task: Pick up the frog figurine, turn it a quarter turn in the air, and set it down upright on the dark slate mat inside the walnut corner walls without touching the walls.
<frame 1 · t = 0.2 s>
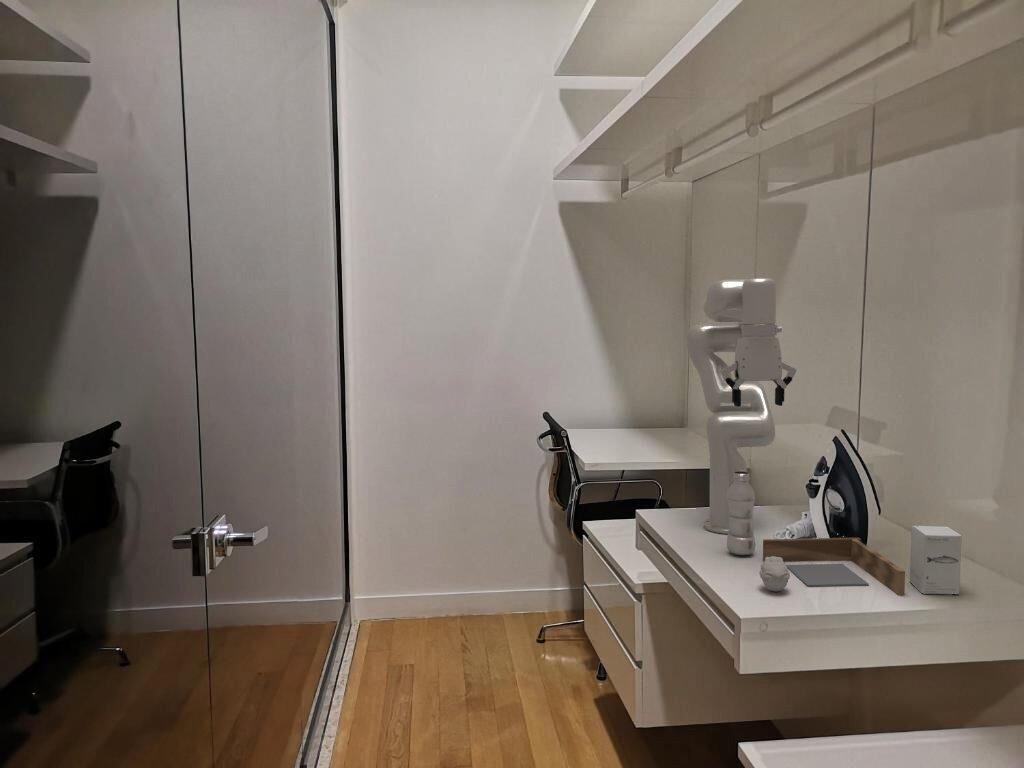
hand: (758, 405, 180), 36 cm above the table, tool pointing down, fingers open, 9 cm apart
slate mat: (825, 575, 170), on the table
supplement box: (933, 589, 161), on the table
corner walls: (825, 575, 170), on the table
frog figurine: (774, 591, 162), on the table
plastic bottle: (740, 554, 186), on the table
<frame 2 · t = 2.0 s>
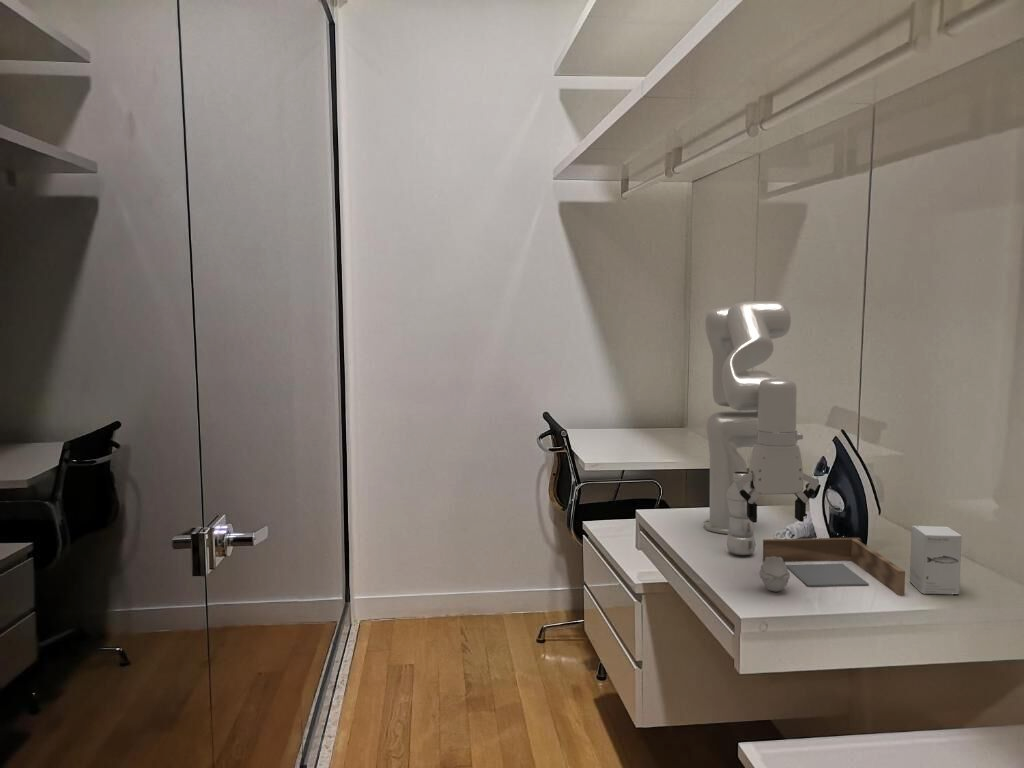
hand: (776, 520, 161), 15 cm above the table, tool pointing down, fingers open, 9 cm apart
nothing on the table moved.
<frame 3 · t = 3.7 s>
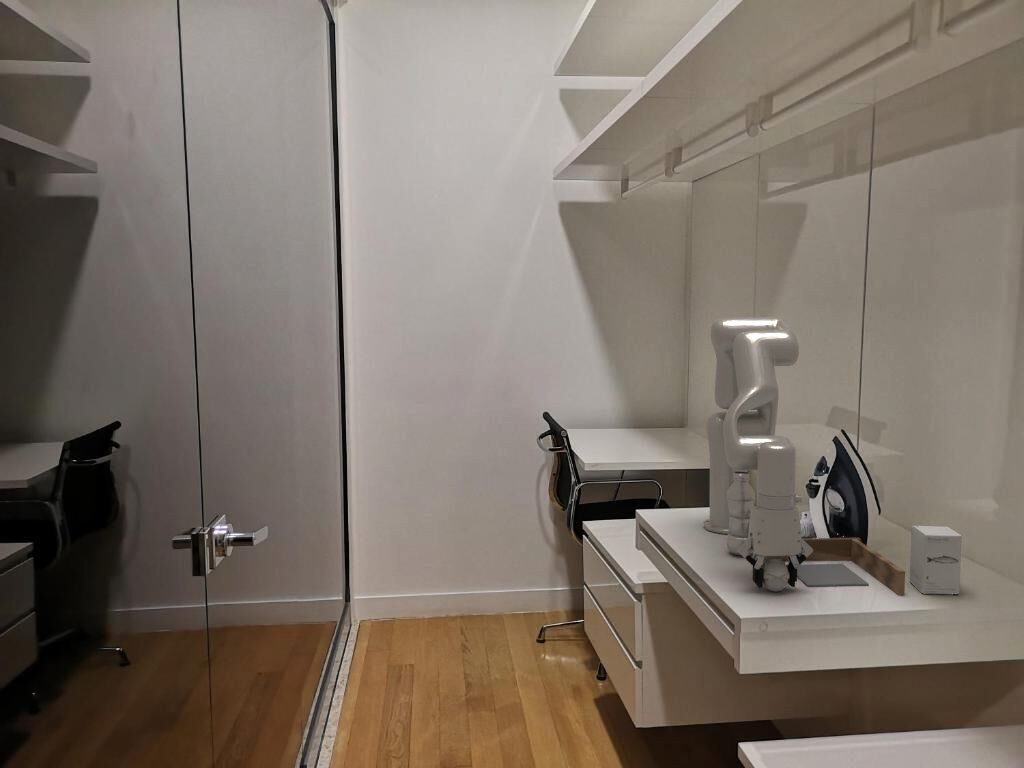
hand: (774, 584, 162), 1 cm above the table, tool pointing down, fingers closed on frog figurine, 6 cm apart
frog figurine: (774, 591, 162), on the table, touching gripper
everything else where it was.
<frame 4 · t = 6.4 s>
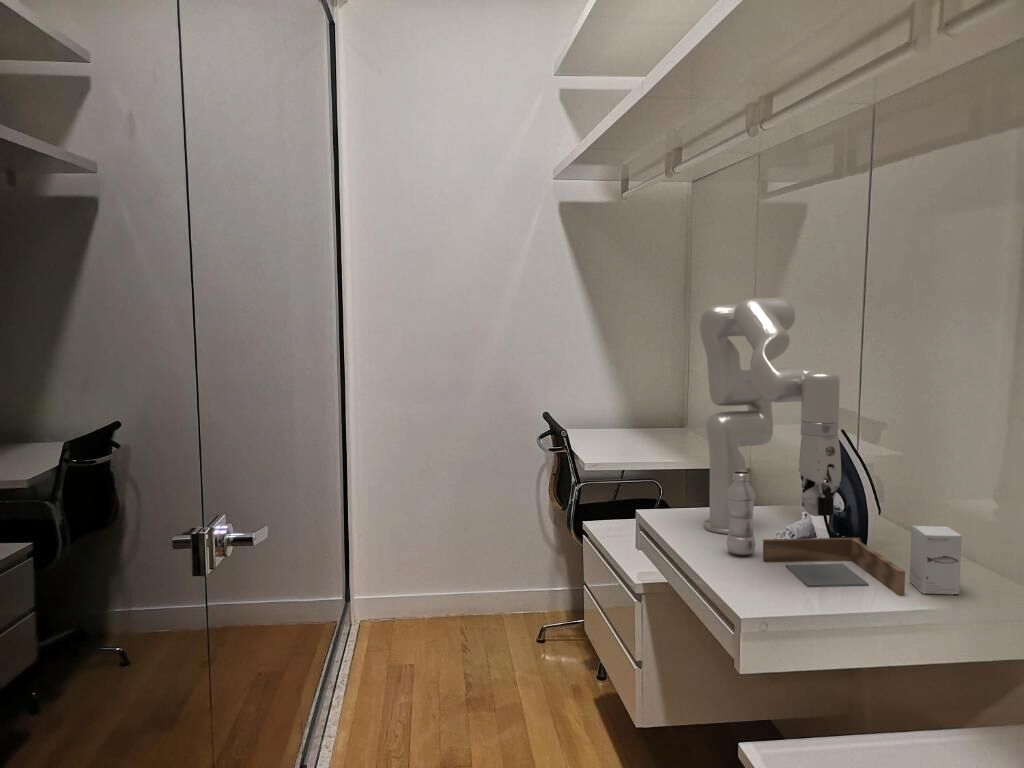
hand: (817, 510, 168), 15 cm above the table, tool pointing down, fingers closed on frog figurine, 6 cm apart
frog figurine: (816, 516, 168), point 14 cm above the table, touching gripper
everything else where it was.
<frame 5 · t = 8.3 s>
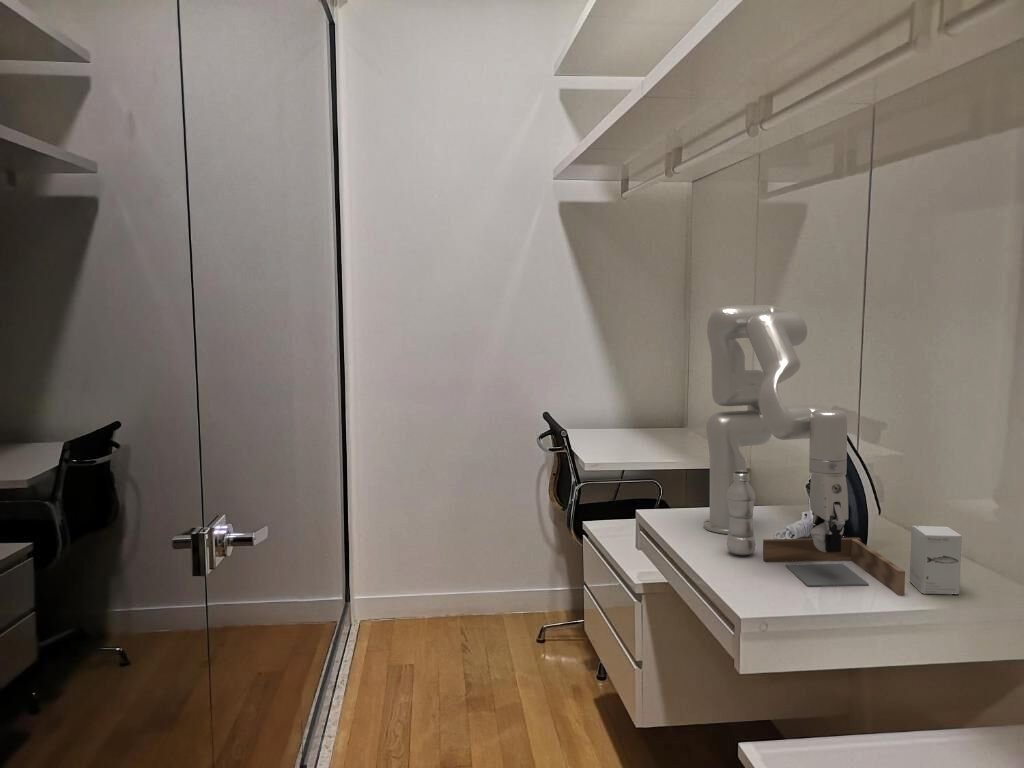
hand: (826, 546, 170), 7 cm above the table, tool pointing down, fingers closed on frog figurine, 6 cm apart
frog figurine: (826, 552, 170), point 5 cm above the table, touching gripper
everything else where it was.
when the fingers open (3 cm above the table, at t = 9.5 s): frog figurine drops 1 cm, resting on slate mat.
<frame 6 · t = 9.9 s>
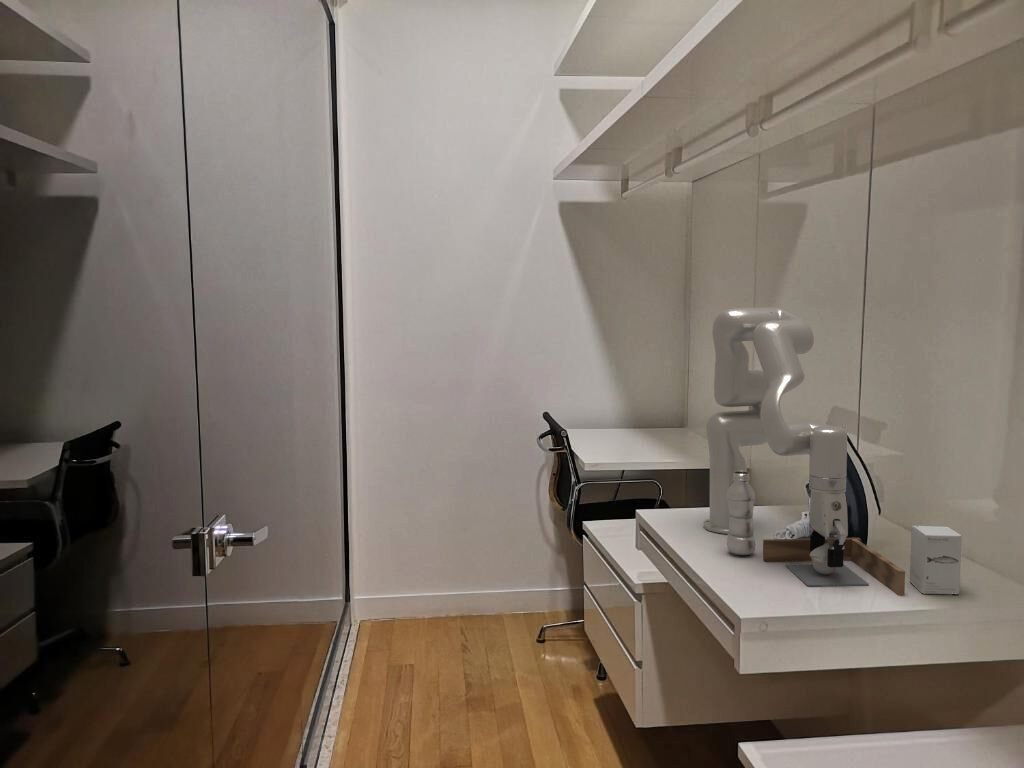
hand: (826, 559, 170), 4 cm above the table, tool pointing down, fingers open, 9 cm apart
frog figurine: (825, 574, 170), resting on slate mat
everything else where it was.
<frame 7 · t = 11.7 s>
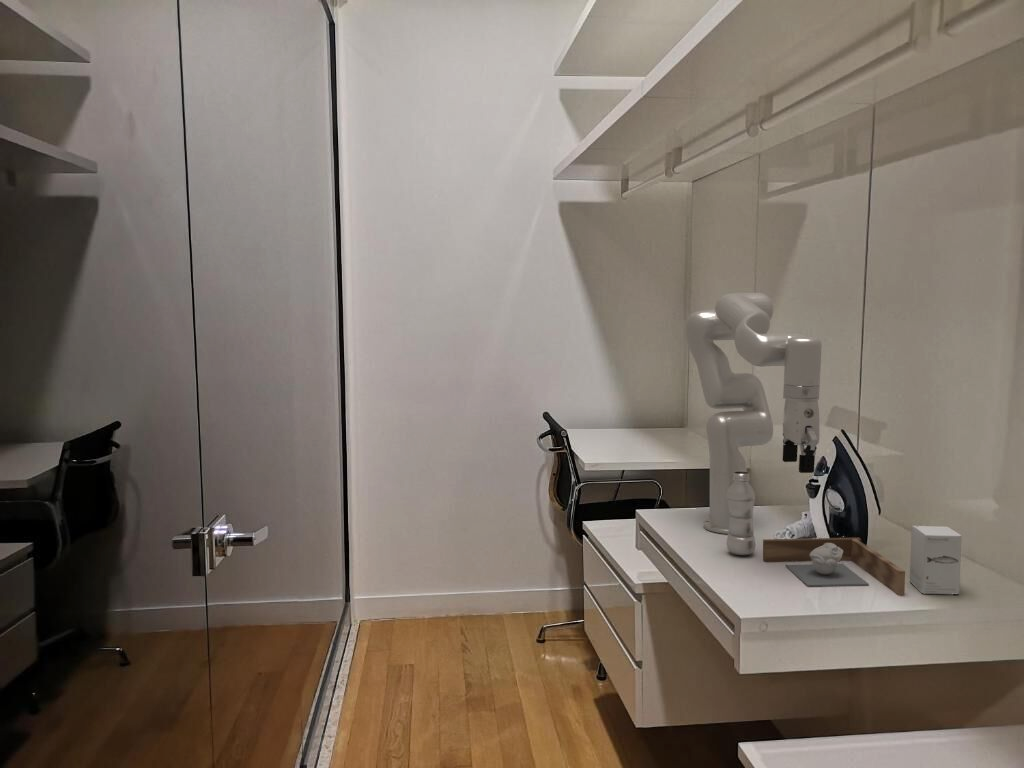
hand: (797, 466, 175), 23 cm above the table, tool pointing down, fingers open, 9 cm apart
nothing on the table moved.
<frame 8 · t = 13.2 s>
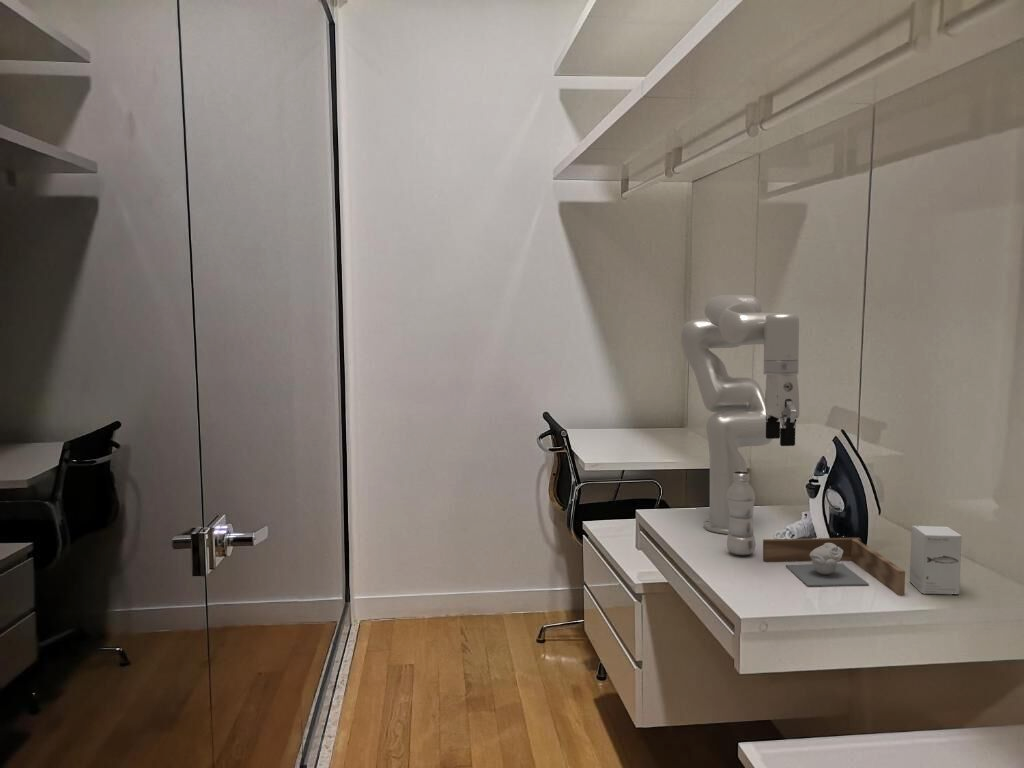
hand: (779, 441, 178), 28 cm above the table, tool pointing down, fingers open, 9 cm apart
nothing on the table moved.
at the end: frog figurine 0.1 cm off-centre on the slate mat, point 0.2 cm above the slate mat's base; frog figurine tilted 0°; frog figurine touching slate mat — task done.
